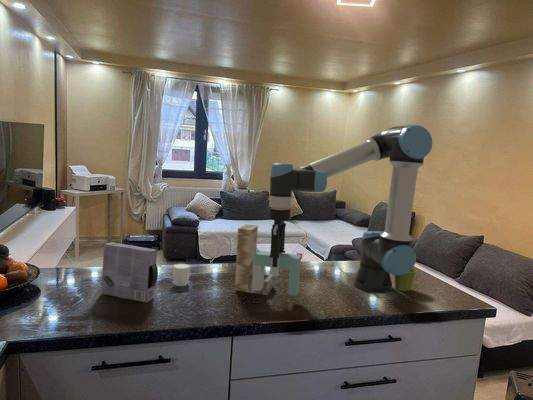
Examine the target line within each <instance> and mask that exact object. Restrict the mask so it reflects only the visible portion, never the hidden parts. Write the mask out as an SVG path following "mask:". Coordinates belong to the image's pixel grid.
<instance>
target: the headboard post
mask: <svg viewBox="0 0 533 400" xmlns="http://www.w3.org/2000/svg"><path fill="white" fill-rule="evenodd" d="M258 229H259V226H258V225H253V224H244V225H242V226H241V227H239V228H237V238H236V241H237V243H236V256H235V257H236V258H235V275H234V279H235V280H234V291H237V292H238V291H239V292H242V293H243V292H244V293H251V294H257V295H258V294H259V295H262V296H264V295H265V296H268V295H269V293H270V292H271V290H272V288H273V286H274V276H271V273H266V272H264V286H263V288H262V289H261V290H260V291H259V290H252V278H253V256H254V253H255V252H256V251H257V247H258V245H257V244H258Z"/></svg>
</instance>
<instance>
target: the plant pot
mask: <svg viewBox="0 0 533 400" xmlns="http://www.w3.org/2000/svg"><path fill="white" fill-rule="evenodd" d="M416 273H418V270H417V269H416V268H414V267H413V268H412V269H411V270H410V271H409V272H408V273H406V274H404V275H394V289H396V290H398V291H400V292H410V291H411V290H412V287H413V283H414V282H413V281H414V279H415V276H416Z"/></svg>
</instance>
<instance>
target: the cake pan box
mask: <svg viewBox="0 0 533 400" xmlns="http://www.w3.org/2000/svg"><path fill="white" fill-rule="evenodd" d="M157 253H158V249H154V248H148V247H141V246H136V245H132V244H131V245H130V244H124V243H118V242H113V241H112V242H107V243H104V244H103V257H102V272H101V273H102V274H101V275H102V276H101V277H102V278H101V290H100V294H101V295H106V296H112V297H115V298H120V299H124V300H132V301H136V302H137V301H138V302H143V303H144V304H145V303H146V304H148V303H149V302H150V301H152V300H153V299H154V298H155V286H156V284H157V281H158V275H159V271H158V266H157Z"/></svg>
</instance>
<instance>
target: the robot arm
mask: <svg viewBox="0 0 533 400" xmlns="http://www.w3.org/2000/svg"><path fill="white" fill-rule="evenodd" d="M432 149H433V137H432V135H431V133H430V131H429V130H428V129H427V128H425V127H424V126H422V125H419V124H407V125H406V124H405V125H401V126H397V125H396V126H393V127H390V128H387V129H385V130H383V131H381V132H378V133H377V134H374V135H372V136H369V137H368V138H367V139H366V141H364V142H362V143H359V144H356V145H354V146H352V147H349V148H346V149H343V150H341V151H338V152H337V153H334V154H331V155H329V156H327V157H324V158H321V159H318V160H316V161H313V162H311V163H308V164H305V165H302V166H301V167H295V168H294V165H293V164H292V163H284V162H283V163H280V162H278V163H277V162H276V163H275V162H274V163H273V164H271V170H270V176H269V177H270V179H269V180H270V181H269V183H270V184H269V197H268V198H267V200H268V201H269V209H268V219H269V220H271V221H272V220H273V221H274V222H273V224H272V226H271V229H270V231H271V235H270V237H271V239H270V251H269V252H270V255H269V257H272V259H271V267H270V274H271V276H273V277H279V275H280V272H283V268H279V261H280V257H279V253H285V254H286V250H285V243H286V241H285V240H286V239H285V238H286V226H287V224H286V222H285V221H289V220H291V212H292V211H291V207H292V197H293V196H292V192H303V193H304V192H307V193H315V194H316V193H323V192H324V191H325V190H326V189H327V186H328V178H330V177H333V176H336V175H339V174H341V173H343V172H346V171H348V170H350V169H353V168H355V167H358V166H360V165H364V164H366V163H368V162H370V161H376V162H377V161H380V160H383V159H388V158H389V164H390V165H391V166H392V172H391V178H390V185H389V186H390V187H389V195H388V202H387V210H386V211H387V212H386V217H385V218H386V219H385V226H384V231H378V230H377V231H376V230H366V231H364V232H363V234H362V237H361V248H360V249H361V250H360V261H359V262H360V263H359V267H358V269H357V272H356V274H355V275H354V280H353V285H354V287H356V288H357V289H359V290H362V291H365V292H368V293H369V292H370V293H378V294H382V293H383V294H384V293H389V292H391V291H392V290H393V283H392V282H393V281H392V277H391V274H392V275H393V276H395V275H404V274H406V273H408V272H409V271H410V270H411V269H412V268H414V266H415V265H416V262H417V254H416V252H415V250H414V249H413V248H412V245H413V237H412V236H411V235H410V230H411V220H412V213H413V207H414V200H415V193H416V185H417V180H418V179H417V177H418V171H419V169H420V167H421V168H422V166H424V160H425V157H427V156H428V154H430V153H431V151H432Z"/></svg>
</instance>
